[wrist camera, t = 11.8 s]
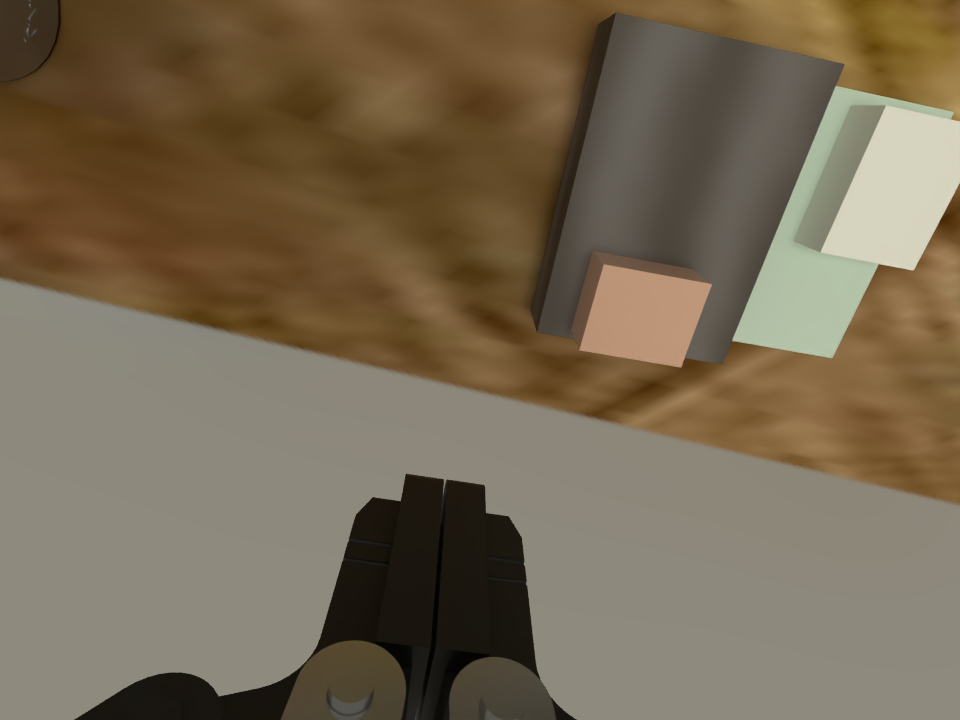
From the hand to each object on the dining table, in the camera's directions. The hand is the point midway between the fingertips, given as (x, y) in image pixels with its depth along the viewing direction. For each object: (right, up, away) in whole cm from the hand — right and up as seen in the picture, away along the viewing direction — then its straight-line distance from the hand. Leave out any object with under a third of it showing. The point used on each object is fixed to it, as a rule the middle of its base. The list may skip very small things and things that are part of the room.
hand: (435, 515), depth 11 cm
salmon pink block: (+10, +7, +22) cm, 25 cm away
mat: (+23, +11, +25) cm, 35 cm away
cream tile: (+25, +12, +21) cm, 34 cm away
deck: (+12, +13, +24) cm, 30 cm away
